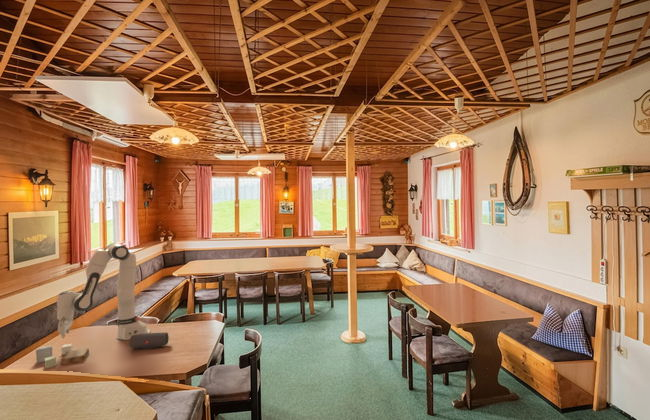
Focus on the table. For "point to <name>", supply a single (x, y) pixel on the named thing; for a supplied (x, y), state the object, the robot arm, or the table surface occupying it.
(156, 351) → the table surface
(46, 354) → the medicine box
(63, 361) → the walnut block
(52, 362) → the sage painted cube
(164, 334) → the bluetooth speaker
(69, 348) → the cream painted cube
